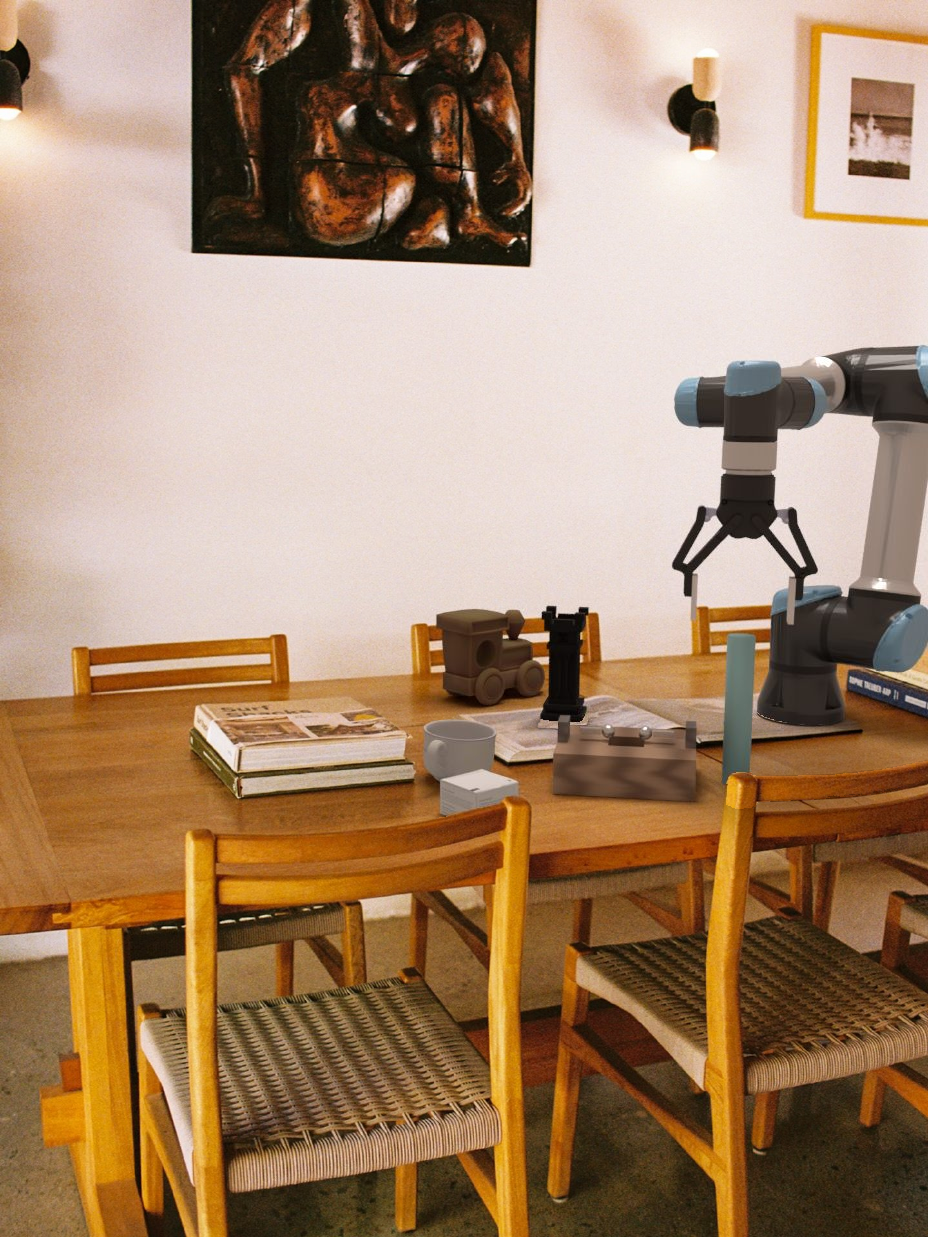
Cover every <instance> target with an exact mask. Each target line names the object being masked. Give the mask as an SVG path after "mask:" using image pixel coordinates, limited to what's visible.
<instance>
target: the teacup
mask: <svg viewBox="0 0 928 1237" xmlns="http://www.w3.org/2000/svg"><path fill="white" fill-rule="evenodd" d="M422 730H423V732H424V733H423V746H422V747H423V749H422V750H423V752H422V753H423V764H424V767H425V769H426V770H427V772H428V773H430V775H432V776H433V779H435V780H436V781H438V782H440V780H441V779H445V778H449V777H453V776H457V775H461V774H465V773H470V772H473V771H477V770H480V769H483V770H486V771H489V772H491V771H492V768H493V764H494V761H495V760H494V759H495V758H494V757H495V750H496V749H495V748H496V737H497V734H498V731H497V730H496V728H495V727H493V726H491V725H489V724H487V723H484V722H483V723H482V722H479V721H473V720H468V719H439V720H433V721H431V722H428V723H426V724H424V726H423V728H422Z"/></svg>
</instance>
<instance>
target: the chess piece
mask: <svg viewBox="0 0 928 1237" xmlns="http://www.w3.org/2000/svg"><path fill="white" fill-rule="evenodd" d="M557 607H558V606H557V605H547V606H546V607H545V610H543V611H541V620H543V631H544V632H549V633H548V634H549V635H548V639H549V641H548V642H547V643H546V644H545V645H546V650H548V695H547V697H546V698H545V701H544V702H543V703H542V710H541V711H540V712H541V713H540V714H539V720H540V719H543V720H549V721H558V720H559V717H560V715H567V716H570V722H580V721H582V720H583V718H584V716H585V714H586V713H587V710H588V708H587V705H584V703H585V697H580V688H581V687H580V683H581V682H580V681H581V680H580V679H581V676H580V675H581V648H582V646H584V645H583V644H584V639H581V638H582V637H581V633H583V632H584V631H585V630H584V629H585V628H586V626H587V616H589V613H590V612H589V611H590V607H589V606H579V607H578V609H577V610H578V612H577V611H576V612H575V613H562V612H561V613H560V612H558V613H557Z"/></svg>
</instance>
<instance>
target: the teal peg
mask: <svg viewBox="0 0 928 1237" xmlns="http://www.w3.org/2000/svg"><path fill="white" fill-rule="evenodd" d="M726 638H727V639H726V661H725V664H726V666H725V687H724V688H725V690H724V709H723V710H724V711H723V713H724V714H723V717H724V718H723V741H722V765H721V766H722V767H721V783H722V784H723V785H725V786H727V785H726V782H727V780H728V777H729V776H730V775H731V774H732V773H736V772H747V773H750V774H751V758H752V757H751V756H752V734H753V733H752V732H753V710H754V690H755V689H754V686H755V685H754V684H755V682H754V681H755V662H756V661H755V659H756V635H754V634H751V633H743V632H742V633H740V632H737V633H736V632H734V633H729V634H727V636H726Z"/></svg>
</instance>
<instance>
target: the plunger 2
mask: <svg viewBox="0 0 928 1237" xmlns="http://www.w3.org/2000/svg"><path fill="white" fill-rule="evenodd" d="M639 728H640V729H639V732H638V734H639V737H640V738H641V739H643V740H648V739H650V738H651V736H652V730H651V729H650V727H649V726H646V725H645V726H642V727H639ZM653 737H657V738H674V731H670V730H653Z"/></svg>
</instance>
